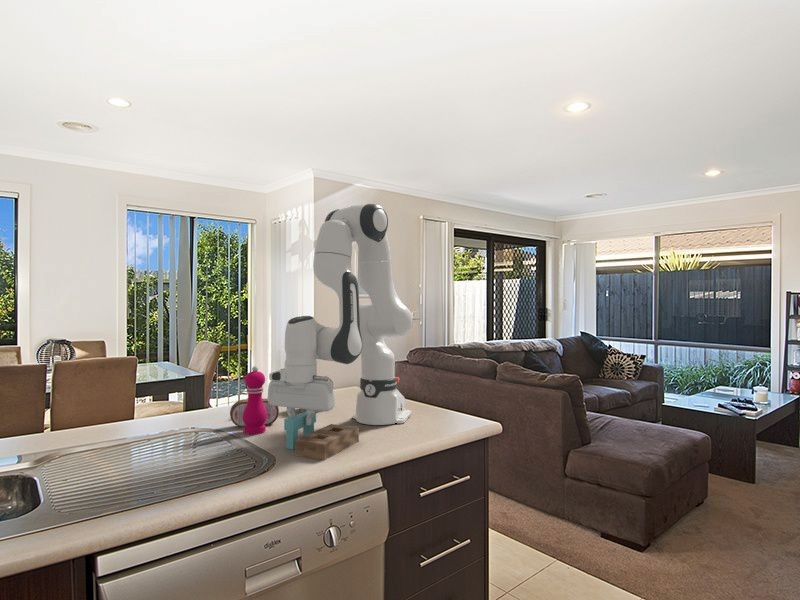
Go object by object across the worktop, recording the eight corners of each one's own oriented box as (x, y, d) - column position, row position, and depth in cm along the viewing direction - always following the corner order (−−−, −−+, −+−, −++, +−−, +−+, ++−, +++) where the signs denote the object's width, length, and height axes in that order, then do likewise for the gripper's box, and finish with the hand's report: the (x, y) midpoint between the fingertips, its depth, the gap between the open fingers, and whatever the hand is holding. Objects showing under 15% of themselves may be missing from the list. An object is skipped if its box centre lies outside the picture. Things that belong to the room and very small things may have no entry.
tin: (278, 422, 164) (278, 397, 164) (279, 425, 161) (279, 398, 161) (229, 426, 159) (229, 399, 159) (229, 428, 156) (229, 401, 156)
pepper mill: (260, 435, 148) (260, 368, 148) (237, 434, 150) (238, 367, 149) (271, 429, 155) (271, 365, 155) (249, 428, 157) (250, 364, 156)
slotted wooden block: (331, 437, 146) (331, 423, 146) (358, 441, 143) (358, 427, 143) (295, 455, 130) (295, 439, 130) (324, 459, 126) (324, 444, 126)
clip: (307, 438, 145) (307, 410, 145) (316, 439, 144) (316, 411, 144) (284, 448, 135) (284, 419, 135) (293, 450, 134) (293, 420, 134)
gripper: (338, 375, 139) (338, 425, 139) (278, 370, 147) (278, 417, 147) (326, 378, 133) (326, 430, 133) (264, 373, 141) (264, 422, 141)
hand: (300, 424), depth 140 cm, fingers closed on clip, 3 cm apart
